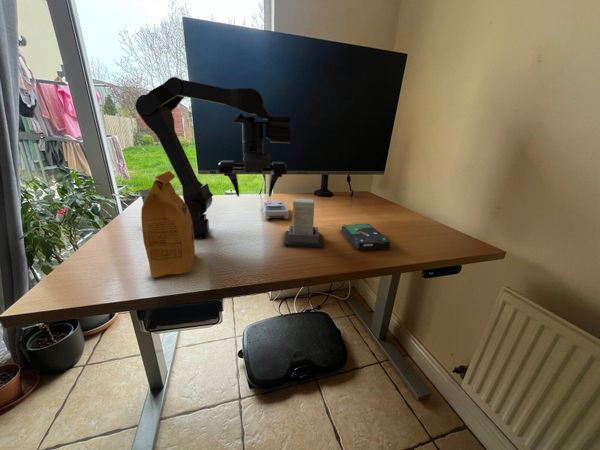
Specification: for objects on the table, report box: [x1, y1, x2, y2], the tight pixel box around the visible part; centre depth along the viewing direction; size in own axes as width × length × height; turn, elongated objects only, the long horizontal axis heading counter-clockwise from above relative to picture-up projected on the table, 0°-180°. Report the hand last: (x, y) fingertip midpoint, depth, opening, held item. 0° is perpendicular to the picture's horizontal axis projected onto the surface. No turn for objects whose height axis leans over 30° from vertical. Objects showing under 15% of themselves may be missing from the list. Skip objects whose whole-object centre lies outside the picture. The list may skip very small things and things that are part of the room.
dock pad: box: [284, 225, 323, 249], centre depth 75 cm, size 10×11×3 cm
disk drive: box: [341, 223, 391, 251], centre depth 78 cm, size 10×3×15 cm
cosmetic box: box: [292, 197, 315, 235], centre depth 73 cm, size 6×4×12 cm
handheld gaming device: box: [262, 200, 289, 220], centre depth 97 cm, size 9×15×4 cm, turn 12°
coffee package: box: [140, 170, 196, 279], centre depth 55 cm, size 10×12×22 cm
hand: (254, 196), depth 72 cm, fingers open, 9 cm apart
